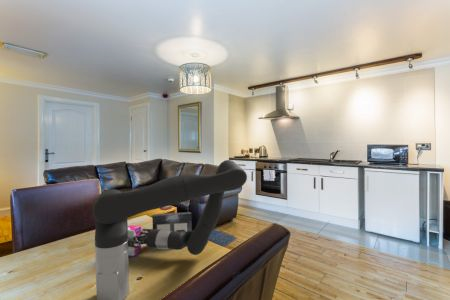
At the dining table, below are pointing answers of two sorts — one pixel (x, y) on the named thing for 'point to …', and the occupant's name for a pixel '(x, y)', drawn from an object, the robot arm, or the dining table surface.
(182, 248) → the robot arm
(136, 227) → the supplement box
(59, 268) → the dining table surface
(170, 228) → the label panel
